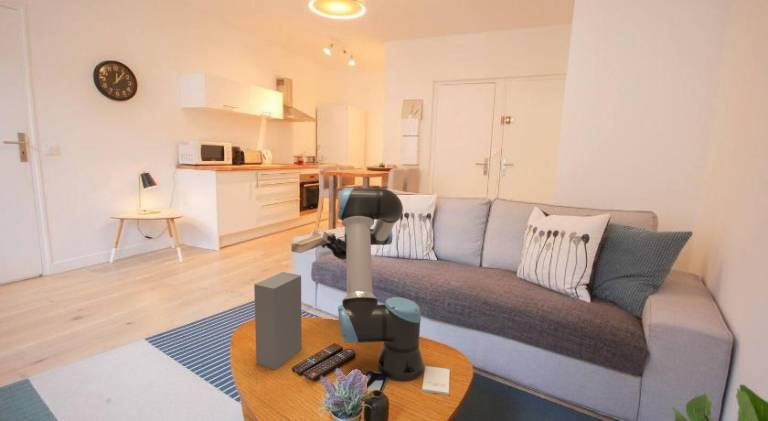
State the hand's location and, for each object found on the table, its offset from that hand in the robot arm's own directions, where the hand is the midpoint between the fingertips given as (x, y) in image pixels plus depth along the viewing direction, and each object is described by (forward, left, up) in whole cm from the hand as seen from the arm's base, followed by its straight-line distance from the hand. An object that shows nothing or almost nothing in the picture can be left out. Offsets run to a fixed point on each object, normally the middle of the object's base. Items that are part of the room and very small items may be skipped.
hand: (317, 233), depth 141 cm
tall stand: (+2, +20, -40) cm, 45 cm away
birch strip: (0, +2, -4) cm, 5 cm away
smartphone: (-34, +21, -41) cm, 57 cm away
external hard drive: (-51, +9, -41) cm, 66 cm away
